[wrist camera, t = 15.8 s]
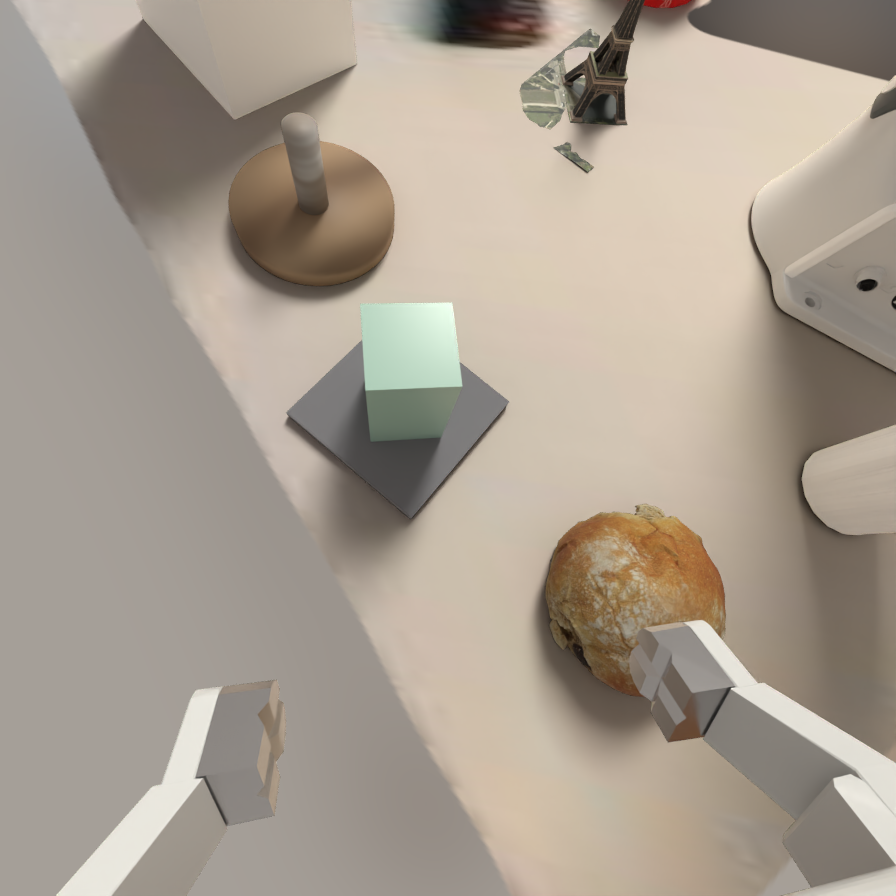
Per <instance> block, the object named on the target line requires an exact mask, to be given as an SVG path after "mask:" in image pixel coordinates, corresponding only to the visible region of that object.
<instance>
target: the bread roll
mask: <svg viewBox="0 0 896 896" xmlns="http://www.w3.org/2000/svg"><path fill="white" fill-rule="evenodd" d="M635 507H637V509H636V513H635V515H633V514H629V513H620V512H612V513H603V512H600V513H599V514H597V515H595V516H594V517H591V518H590V519H588V520H586V521H581V522H578V524H576V525H575V526H574V527H572V528H571V529H570V530H569V531H568V532H567V533H566V534H565V535H564V536H563V537H562V538H561V539H560V540H559V541H558V544H557V547H556V550H555V552H554V555H553V558H552V559H551V566H550V572H549V574H548V578H547V583H546V592H545V597H546V601H547V605H548V608H549V614H550V618H551V619H552V621H551V622H550V625H549V627H550V630H551V632H552V635H553V638H554V640H555V642H556V643H557V644H558V645H559V647H560V648H561V649H562V650H564V649H565V648H566V647H567V646H568V647H569V648H570V650H571V651H572V653H573V654H574V655H575V656H576V657H577V658H578V659H579V660H580V661H581V662H582V663H583V665H585V666H586V667H587V668H588V670H589V672H591V673H592V674H593V675H594V676H595V677H596V678H597V679H599V680H601V681H602V682H604V683H605V684H607V685H608V686H610V687H611V688H613V689H615V690H617V691H619V692H622V693H625V694H628V695H631V696H640V697H645V696H643V695H642V694H641V693H640V692H639V691H638V689H637V687H636V685H635V683H634V681H633V678H632V676H631V673H630V666H629V658H630V654H631V651H632V650H633V649H634V648H635V647H636V646H637V645H639V642H638V641H637V639H636V637H637V634H638V631H639V630H641V629H642V628H646V627H652V626H658V625H665V624H671V623H677V622H680V623H681V622H688V621H694V620H703V621H705V622H706V623H708V624H709V625H710V626H711V627H712V628H713V630H714V631H715V632H716V633H717V634H718V636H719V637H720V638H721V639H722V640H723V638H724V635H725V618H726V614H725V594H724V588H723V584H722V580H721V577H720V574H719V572H718V570H717V568H716V567H715V565H714V564H713V562H712V561H711V559H710V557H709V556H708V554H707V552H706V550H705V549H704V547H703V545H702V539H701V537H700V536H698V535H696V534H695V533H694V532H692V531H691V530H690V529H689V528H688V527H687V526H685V525H684V524H682V523H681V522H680V521H679V520H678V518H677V517H675V516H670V517H665V515H664V512H663V511H662V510H661V509H659V508H657V507H656V506H650V505H648V504H642V505H637V506H635Z"/></svg>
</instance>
